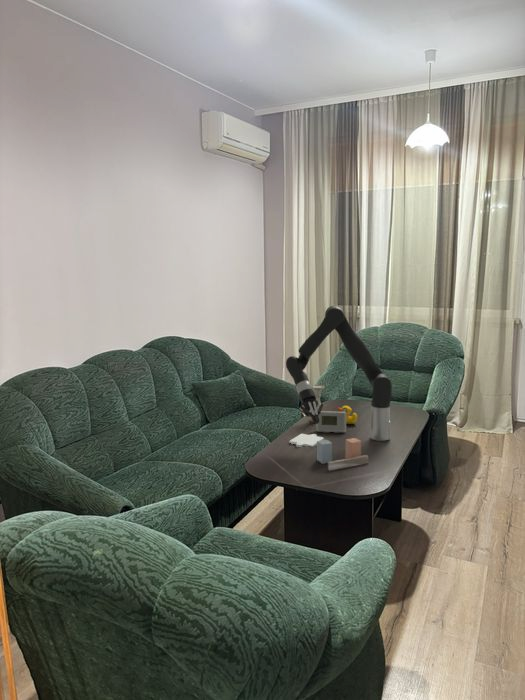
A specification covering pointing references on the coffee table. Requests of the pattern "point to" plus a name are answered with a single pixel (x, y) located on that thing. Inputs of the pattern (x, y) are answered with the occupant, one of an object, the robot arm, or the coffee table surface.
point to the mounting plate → (306, 440)
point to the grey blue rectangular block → (324, 451)
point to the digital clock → (331, 422)
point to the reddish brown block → (353, 448)
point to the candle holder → (317, 395)
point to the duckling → (348, 410)
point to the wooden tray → (347, 462)
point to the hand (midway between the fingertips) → (317, 423)
